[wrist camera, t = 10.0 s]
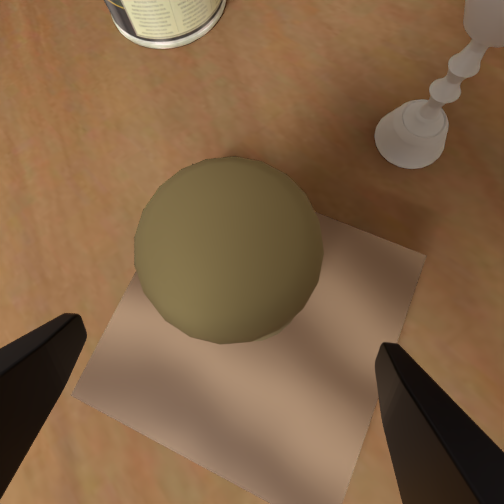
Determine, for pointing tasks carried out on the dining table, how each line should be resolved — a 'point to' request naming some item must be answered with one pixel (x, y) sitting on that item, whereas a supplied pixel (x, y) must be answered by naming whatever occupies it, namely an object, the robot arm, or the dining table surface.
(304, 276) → the olive game pawn
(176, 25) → the coffee can
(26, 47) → the dining table surface
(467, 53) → the chalice
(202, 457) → the tan square slab
